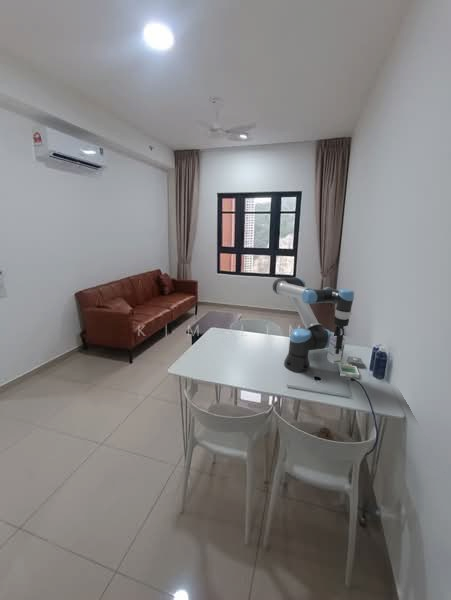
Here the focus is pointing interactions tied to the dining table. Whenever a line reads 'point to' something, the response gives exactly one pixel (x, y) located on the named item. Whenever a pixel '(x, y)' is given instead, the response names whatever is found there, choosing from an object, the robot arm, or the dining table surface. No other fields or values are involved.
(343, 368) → the white green flat box
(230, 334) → the dining table surface
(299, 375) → the dining table surface
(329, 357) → the syrup box
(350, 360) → the grey box
